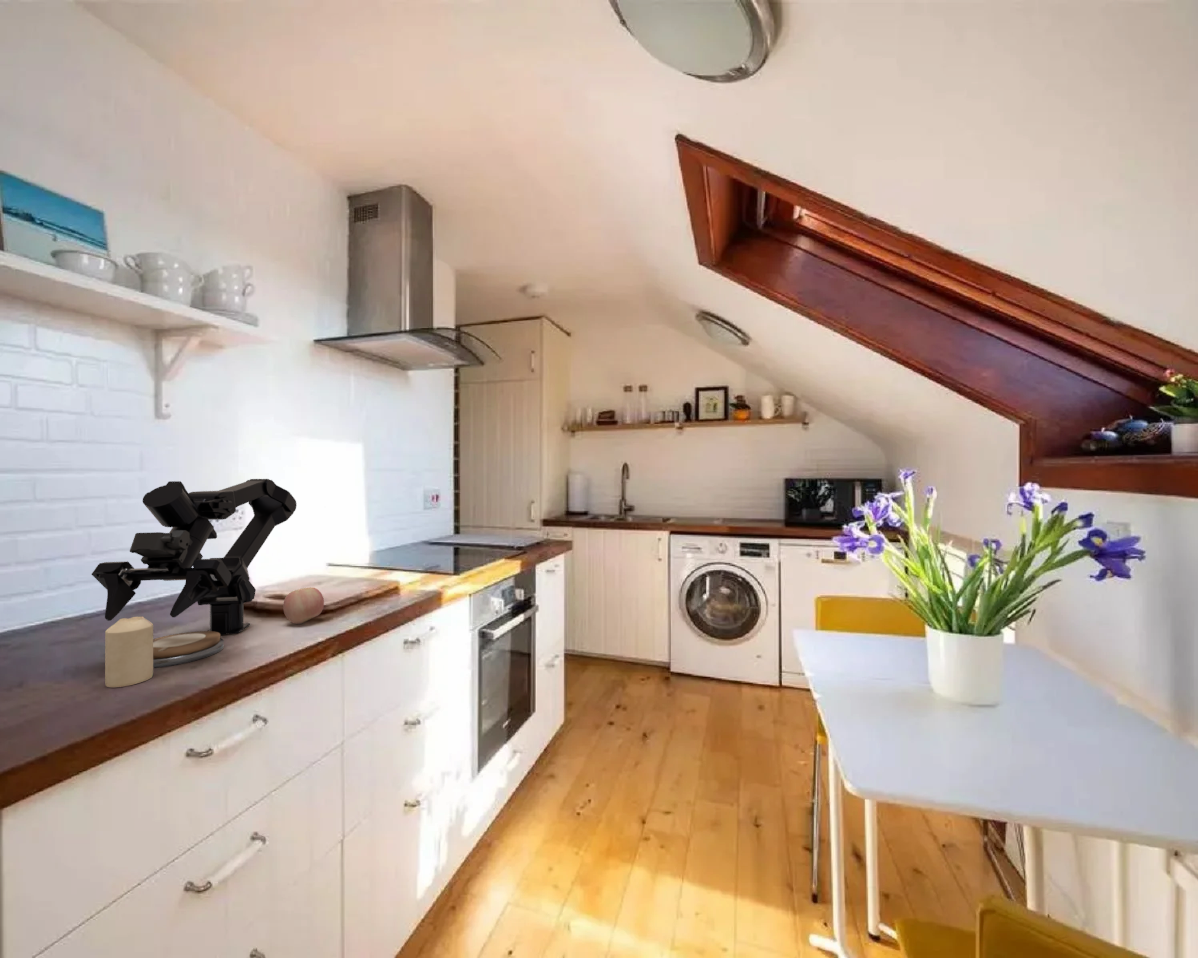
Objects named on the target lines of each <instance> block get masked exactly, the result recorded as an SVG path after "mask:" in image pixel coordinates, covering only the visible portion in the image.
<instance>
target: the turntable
mask: <svg viewBox="0 0 1198 958" xmlns="http://www.w3.org/2000/svg"><path fill="white" fill-rule="evenodd" d="M220 638H221V635H220V633H218V632H215V631H208V630H199V631H197V630H196V631H188V632H186V631H185V632H179V633H173V634H169V635H165V636H160V637H157V638H153V659H156V658H166V657H173V656H179V655H184V654H189V653H193V652H197V651H201V650H204V649H207V648H209V647H212V646H214V645H216V644H218V643H219V642H220Z"/></svg>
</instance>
